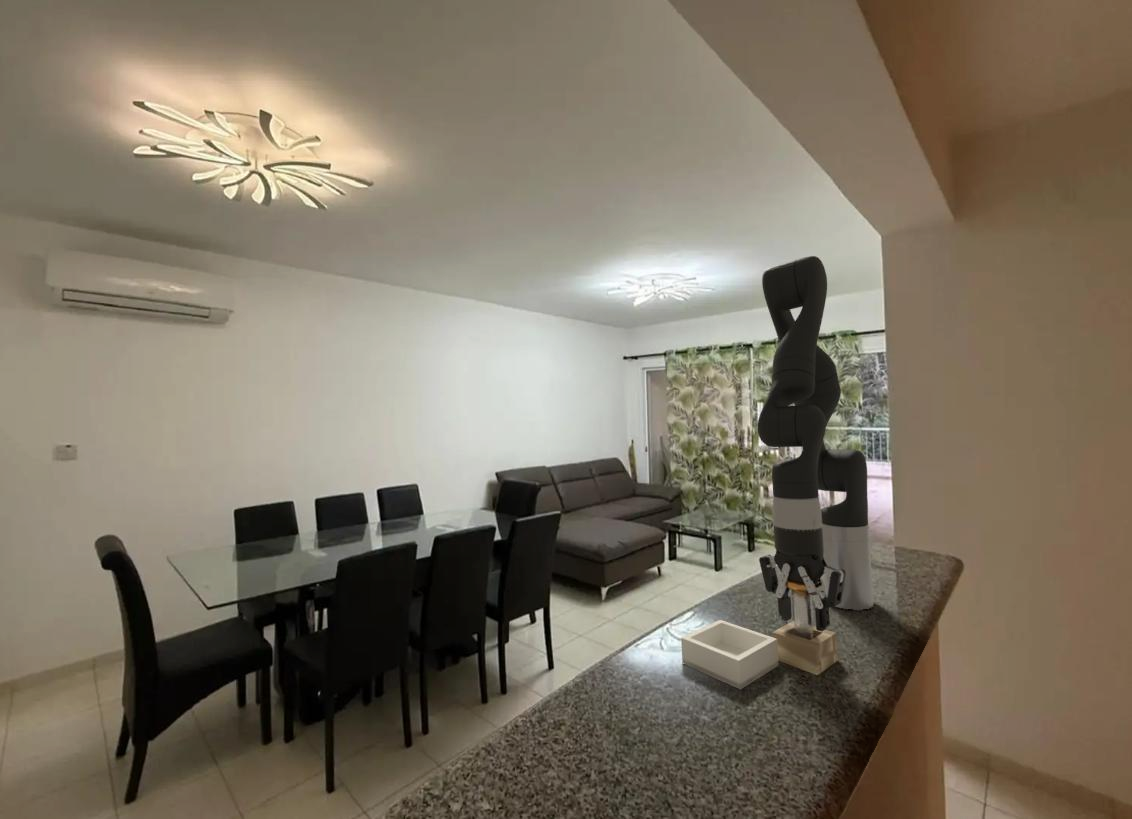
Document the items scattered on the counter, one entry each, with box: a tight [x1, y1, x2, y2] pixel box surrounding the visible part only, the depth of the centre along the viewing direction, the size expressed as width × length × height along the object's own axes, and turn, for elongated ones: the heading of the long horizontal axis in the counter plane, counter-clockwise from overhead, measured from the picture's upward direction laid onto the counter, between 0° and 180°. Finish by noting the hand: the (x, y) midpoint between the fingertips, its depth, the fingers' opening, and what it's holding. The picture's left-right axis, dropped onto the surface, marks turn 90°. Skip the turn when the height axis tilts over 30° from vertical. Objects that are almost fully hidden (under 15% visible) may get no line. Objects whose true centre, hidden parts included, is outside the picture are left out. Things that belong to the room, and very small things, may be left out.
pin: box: [787, 581, 816, 640], centre depth 81 cm, size 4×4×13 cm
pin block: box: [772, 621, 839, 676], centre depth 81 cm, size 7×7×4 cm
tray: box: [680, 619, 780, 691], centre depth 81 cm, size 11×11×4 cm
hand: (803, 623), depth 81 cm, fingers open, 5 cm apart
